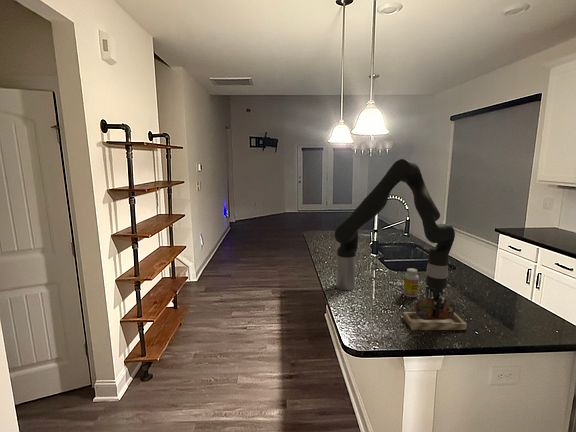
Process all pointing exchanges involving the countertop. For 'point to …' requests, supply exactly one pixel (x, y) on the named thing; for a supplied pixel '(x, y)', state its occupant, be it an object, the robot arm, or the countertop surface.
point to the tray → (434, 322)
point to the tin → (426, 309)
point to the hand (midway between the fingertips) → (433, 315)
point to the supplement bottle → (411, 283)
